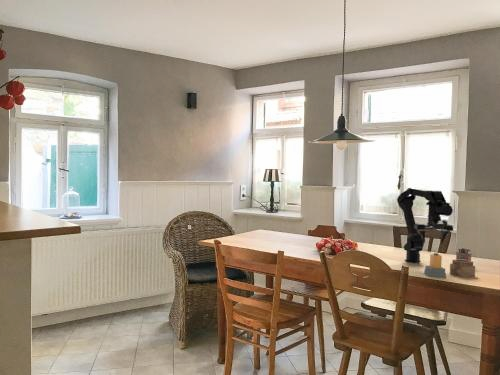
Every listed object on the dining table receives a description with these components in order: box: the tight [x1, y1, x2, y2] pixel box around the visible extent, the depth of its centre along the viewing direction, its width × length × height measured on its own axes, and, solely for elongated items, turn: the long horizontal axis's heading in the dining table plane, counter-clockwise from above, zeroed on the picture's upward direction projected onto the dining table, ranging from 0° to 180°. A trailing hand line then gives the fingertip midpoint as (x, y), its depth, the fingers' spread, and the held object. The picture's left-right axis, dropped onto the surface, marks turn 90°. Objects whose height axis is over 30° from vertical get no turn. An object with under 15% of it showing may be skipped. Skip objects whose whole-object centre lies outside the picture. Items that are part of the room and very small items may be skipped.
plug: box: [429, 252, 443, 269], centre depth 216 cm, size 4×4×9 cm
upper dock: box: [449, 259, 476, 278], centre depth 219 cm, size 8×8×7 cm
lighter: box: [455, 247, 473, 261], centre depth 240 cm, size 8×3×10 cm, turn 45°
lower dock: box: [424, 264, 447, 278], centre depth 216 cm, size 8×8×4 cm
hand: (432, 243), depth 234 cm, fingers open, 9 cm apart
